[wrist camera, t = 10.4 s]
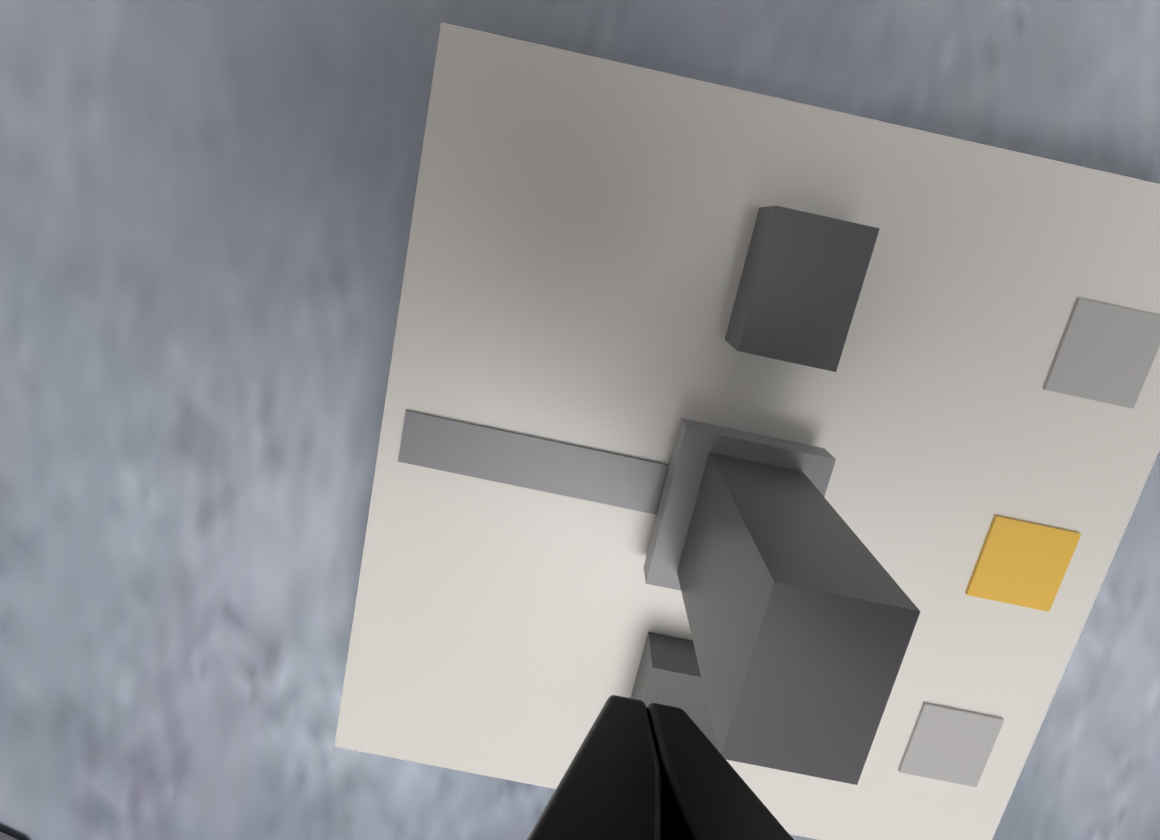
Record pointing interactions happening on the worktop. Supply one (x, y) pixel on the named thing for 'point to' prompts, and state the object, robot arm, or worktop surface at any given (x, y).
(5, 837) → the flask
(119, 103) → the worktop surface
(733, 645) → the handle
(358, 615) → the panel
